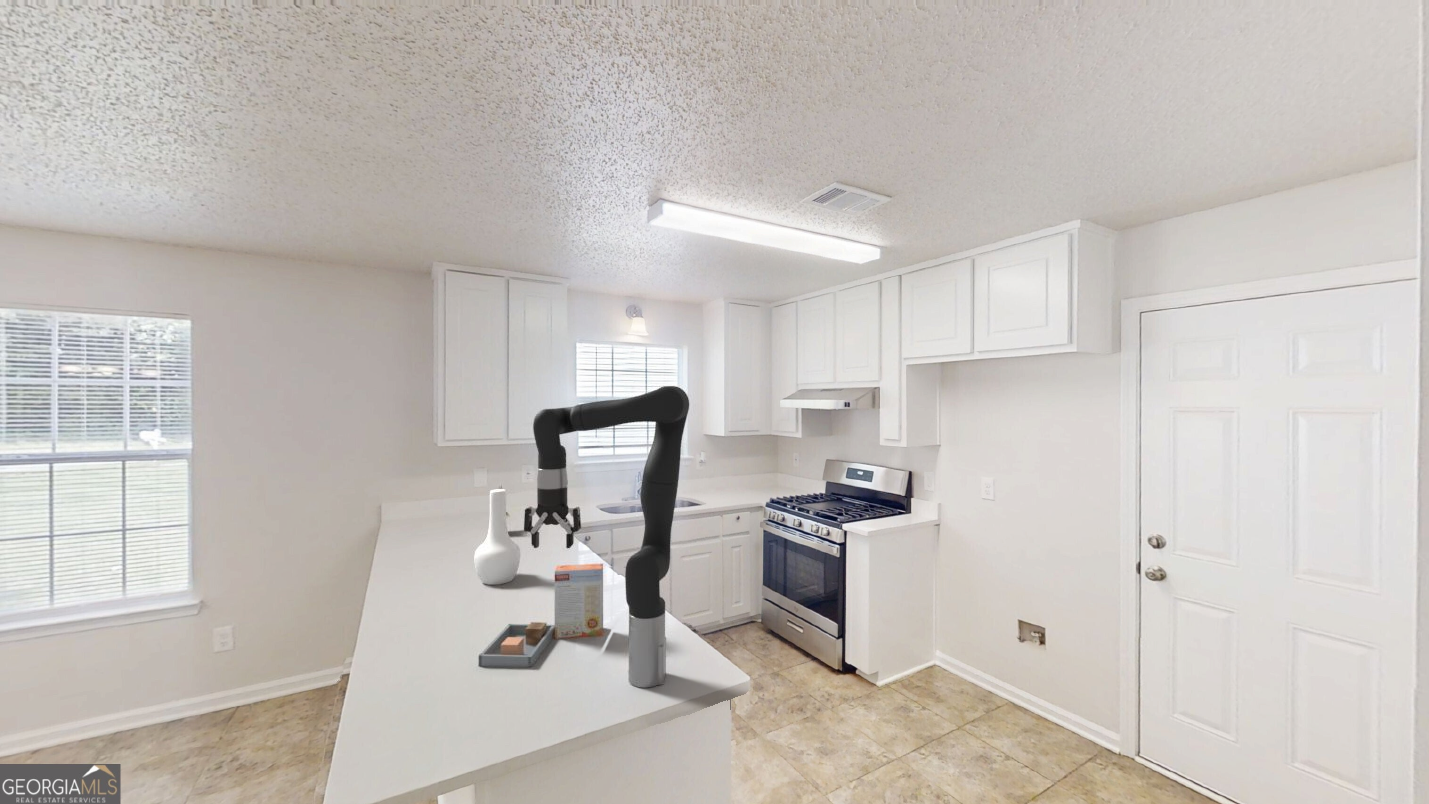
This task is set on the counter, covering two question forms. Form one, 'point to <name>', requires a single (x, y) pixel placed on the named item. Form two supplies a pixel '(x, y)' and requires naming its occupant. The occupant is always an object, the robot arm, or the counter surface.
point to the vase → (497, 546)
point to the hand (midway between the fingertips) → (552, 547)
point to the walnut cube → (535, 632)
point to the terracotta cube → (513, 646)
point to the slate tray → (531, 653)
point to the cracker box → (578, 601)
